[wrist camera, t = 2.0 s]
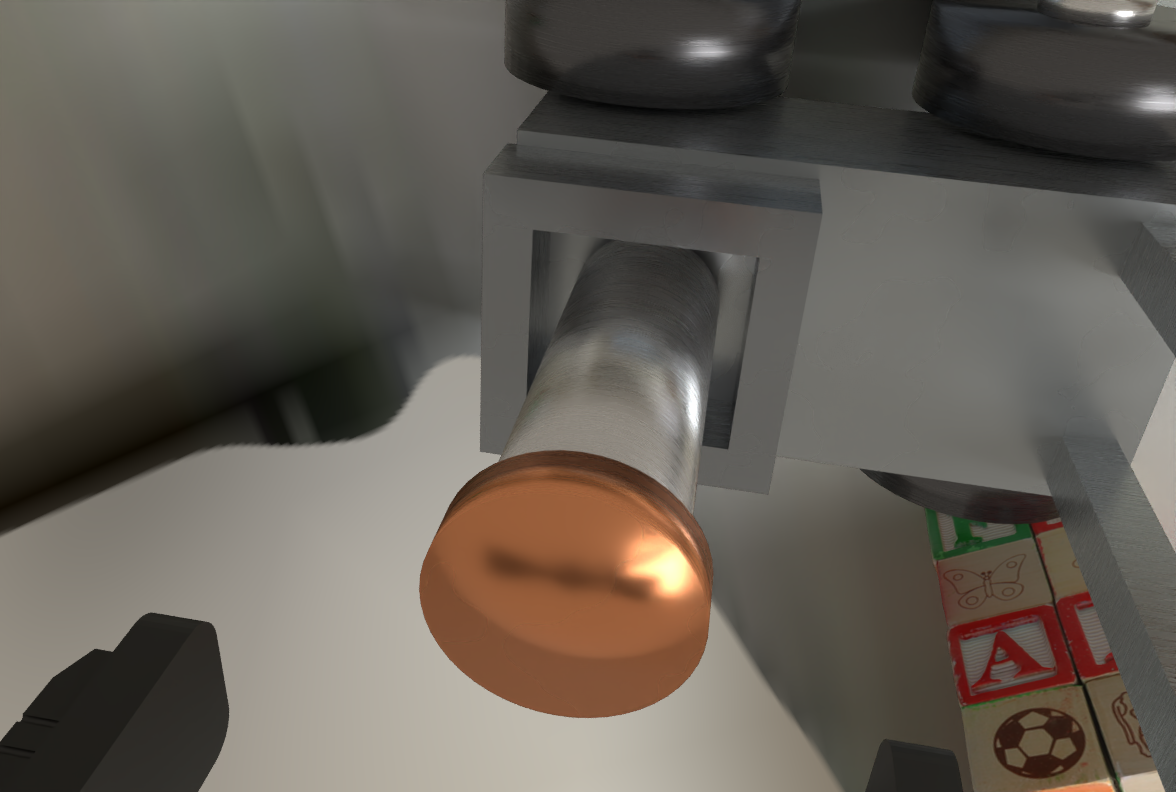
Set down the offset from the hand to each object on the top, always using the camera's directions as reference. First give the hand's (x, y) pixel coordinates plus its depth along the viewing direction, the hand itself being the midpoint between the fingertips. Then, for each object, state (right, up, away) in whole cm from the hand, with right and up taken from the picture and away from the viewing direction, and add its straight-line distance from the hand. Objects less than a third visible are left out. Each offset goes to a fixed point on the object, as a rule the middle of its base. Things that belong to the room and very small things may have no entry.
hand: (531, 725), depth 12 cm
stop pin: (+2, +6, +10) cm, 12 cm away
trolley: (+7, +10, +17) cm, 21 cm away
